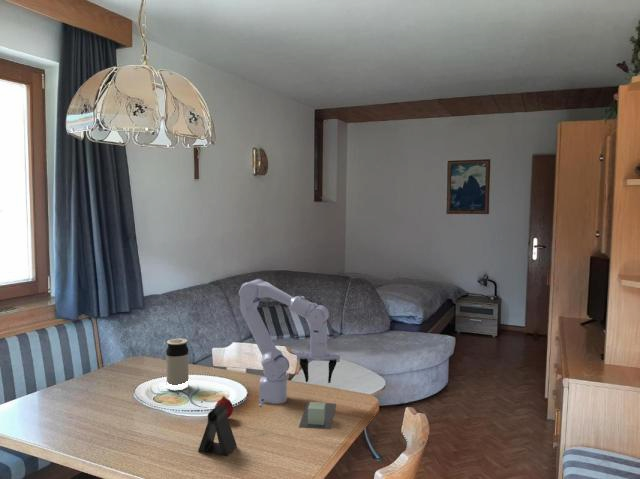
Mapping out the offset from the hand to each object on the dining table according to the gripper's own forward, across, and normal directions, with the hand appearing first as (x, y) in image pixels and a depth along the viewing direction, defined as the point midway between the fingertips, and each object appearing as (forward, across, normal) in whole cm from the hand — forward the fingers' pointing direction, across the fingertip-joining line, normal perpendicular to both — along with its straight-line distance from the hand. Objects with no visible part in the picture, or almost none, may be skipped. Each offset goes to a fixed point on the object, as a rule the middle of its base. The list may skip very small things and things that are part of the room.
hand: (318, 381), depth 168 cm
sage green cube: (+8, +1, -13) cm, 15 cm away
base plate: (+9, +1, -8) cm, 12 cm away
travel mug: (+10, -55, +13) cm, 57 cm away
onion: (+10, -29, -13) cm, 33 cm away
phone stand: (+10, -25, -32) cm, 42 cm away
